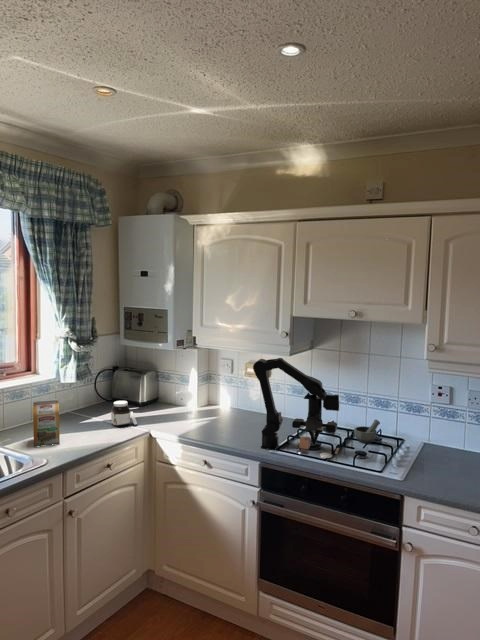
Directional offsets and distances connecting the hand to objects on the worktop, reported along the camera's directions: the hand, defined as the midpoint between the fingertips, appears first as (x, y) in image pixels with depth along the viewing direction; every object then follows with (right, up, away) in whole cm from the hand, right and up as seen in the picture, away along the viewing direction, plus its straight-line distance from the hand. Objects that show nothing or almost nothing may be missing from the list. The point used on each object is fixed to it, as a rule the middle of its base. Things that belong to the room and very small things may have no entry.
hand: (314, 444), depth 212 cm
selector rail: (+1, -3, 0) cm, 3 cm away
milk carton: (-119, -1, +8) cm, 120 cm away
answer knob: (-4, -2, +2) cm, 5 cm away
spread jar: (-90, +1, +34) cm, 97 cm away
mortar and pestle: (+25, -3, +10) cm, 27 cm away
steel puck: (-6, -4, -5) cm, 8 cm away
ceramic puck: (+4, -4, -8) cm, 10 cm away
